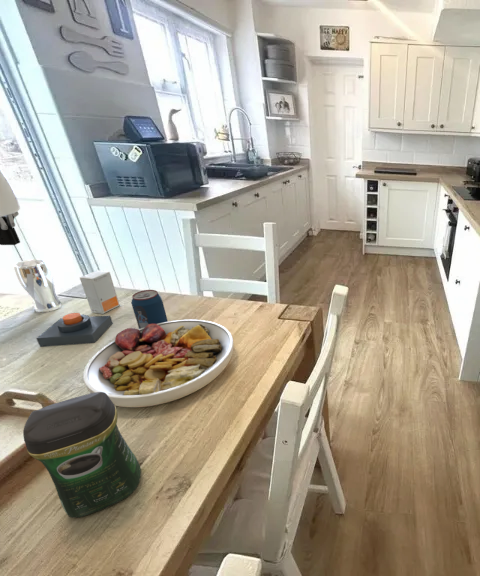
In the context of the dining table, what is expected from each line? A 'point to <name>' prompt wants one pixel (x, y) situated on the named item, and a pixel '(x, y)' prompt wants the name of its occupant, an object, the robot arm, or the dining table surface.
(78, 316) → the orange button cap
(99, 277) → the cosmetic box
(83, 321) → the button base
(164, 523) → the dining table surface
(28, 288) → the beer glass
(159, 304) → the soda can
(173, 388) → the white plate of food
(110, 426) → the coffee jar
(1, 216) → the robot arm
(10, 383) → the dining table surface
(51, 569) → the dining table surface
